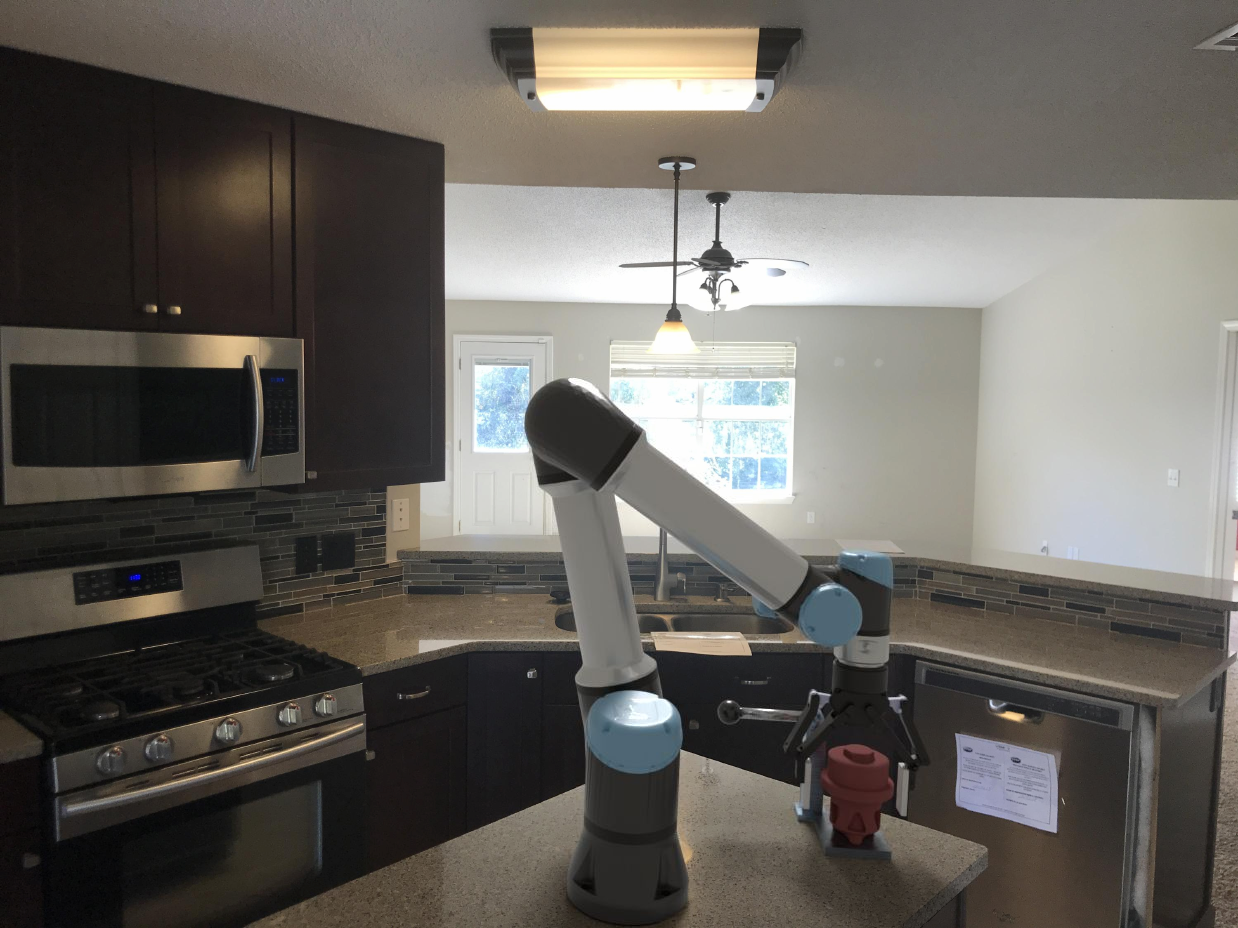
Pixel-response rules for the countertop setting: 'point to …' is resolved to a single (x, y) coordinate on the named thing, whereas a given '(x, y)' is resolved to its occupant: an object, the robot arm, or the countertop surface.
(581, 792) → the countertop surface
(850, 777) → the mechanical component
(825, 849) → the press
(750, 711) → the lever
